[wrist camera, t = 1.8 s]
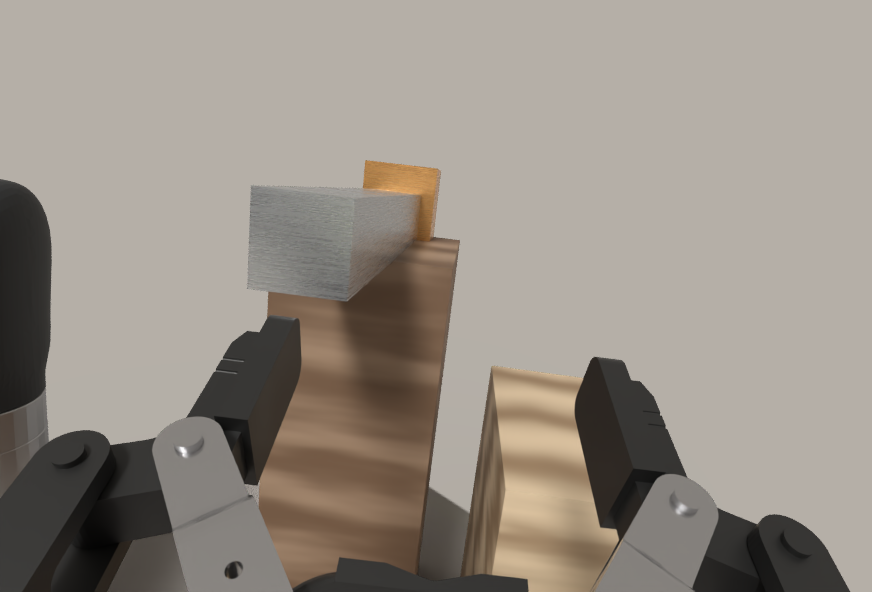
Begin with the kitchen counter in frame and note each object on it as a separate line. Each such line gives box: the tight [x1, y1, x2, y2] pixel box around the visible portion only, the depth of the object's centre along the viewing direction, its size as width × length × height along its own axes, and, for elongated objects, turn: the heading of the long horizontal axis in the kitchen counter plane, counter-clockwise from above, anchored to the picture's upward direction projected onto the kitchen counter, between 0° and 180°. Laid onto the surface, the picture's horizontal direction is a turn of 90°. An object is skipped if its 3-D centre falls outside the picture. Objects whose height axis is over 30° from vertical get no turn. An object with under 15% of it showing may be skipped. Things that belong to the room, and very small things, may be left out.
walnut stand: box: [259, 237, 460, 588], centre depth 38 cm, size 16×10×32 cm, turn 176°
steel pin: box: [247, 160, 441, 302], centre depth 29 cm, size 26×6×6 cm, turn 176°
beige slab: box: [460, 366, 619, 592], centre depth 36 cm, size 18×8×22 cm, turn 176°
